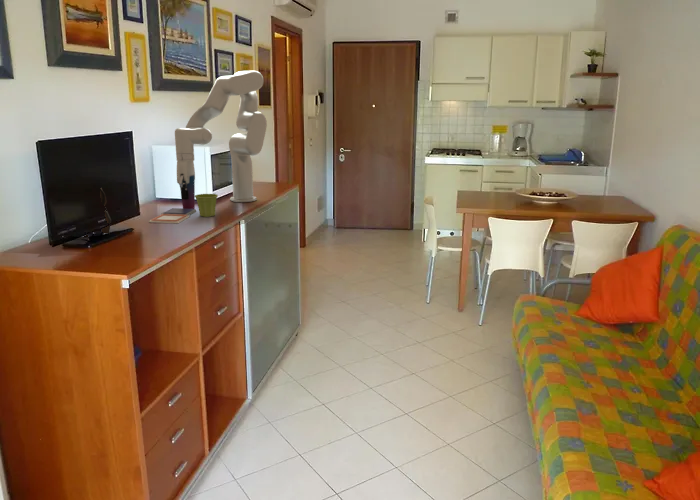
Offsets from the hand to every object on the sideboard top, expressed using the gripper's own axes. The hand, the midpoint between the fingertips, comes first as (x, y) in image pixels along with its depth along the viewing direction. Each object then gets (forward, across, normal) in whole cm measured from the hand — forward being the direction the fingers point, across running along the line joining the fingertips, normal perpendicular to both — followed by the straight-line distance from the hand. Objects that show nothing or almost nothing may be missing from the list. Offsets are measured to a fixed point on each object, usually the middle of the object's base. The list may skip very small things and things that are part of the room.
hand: (188, 197), depth 251 cm
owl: (+5, +50, -17) cm, 53 cm away
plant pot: (+5, +13, +13) cm, 19 cm away
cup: (+5, 0, 0) cm, 5 cm away
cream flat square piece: (+5, +23, +1) cm, 24 cm away
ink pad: (+5, +11, 0) cm, 12 cm away
